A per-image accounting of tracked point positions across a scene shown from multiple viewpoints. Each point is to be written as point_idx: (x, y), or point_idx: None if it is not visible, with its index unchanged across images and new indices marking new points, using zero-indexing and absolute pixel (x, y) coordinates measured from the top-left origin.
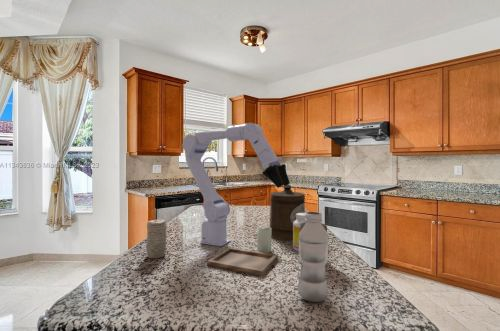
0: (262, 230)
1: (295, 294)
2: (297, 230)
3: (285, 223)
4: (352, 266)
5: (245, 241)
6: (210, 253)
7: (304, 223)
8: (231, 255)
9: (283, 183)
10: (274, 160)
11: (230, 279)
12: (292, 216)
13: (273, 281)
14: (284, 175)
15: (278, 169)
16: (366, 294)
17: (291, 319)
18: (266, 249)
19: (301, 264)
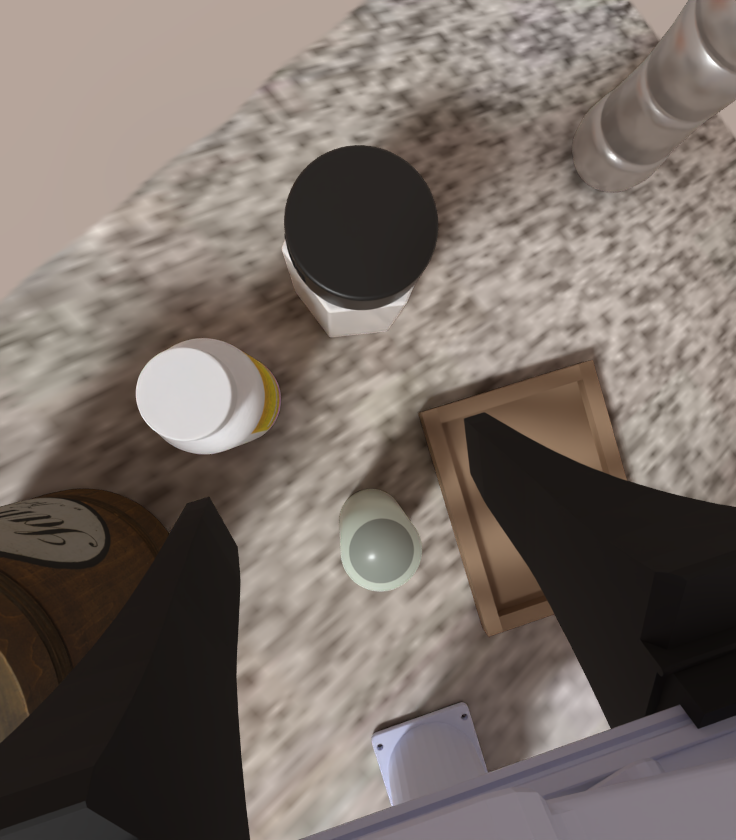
0: (418, 534)
1: (610, 212)
2: (267, 398)
3: (134, 568)
4: (282, 146)
5: (325, 677)
6: (549, 667)
7: (366, 281)
8: (527, 572)
9: (235, 574)
10: (705, 809)
11: (663, 428)
12: (78, 547)
13: (585, 312)
14: (191, 612)
15: (189, 809)
16: (472, 42)
17: (719, 158)
18: (391, 497)
19: (697, 127)
